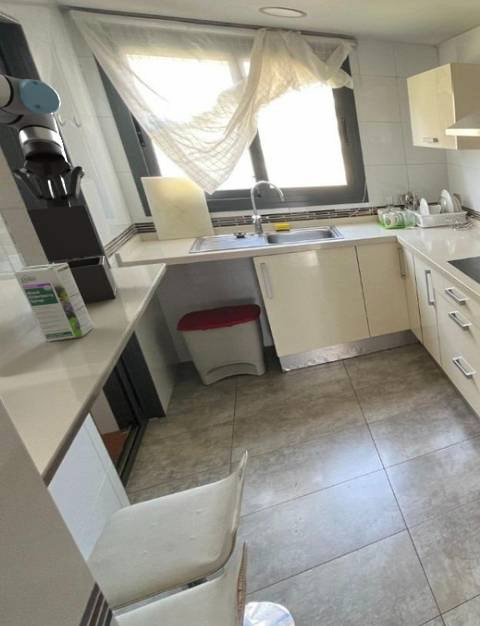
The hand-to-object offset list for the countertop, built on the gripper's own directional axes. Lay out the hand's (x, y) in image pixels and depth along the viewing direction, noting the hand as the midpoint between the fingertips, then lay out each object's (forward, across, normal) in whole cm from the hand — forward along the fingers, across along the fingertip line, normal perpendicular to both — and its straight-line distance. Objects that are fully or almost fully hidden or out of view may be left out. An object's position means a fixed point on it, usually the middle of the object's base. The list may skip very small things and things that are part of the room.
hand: (63, 221), depth 115 cm
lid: (+3, 0, 0) cm, 3 cm away
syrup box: (+40, +2, +14) cm, 42 cm away
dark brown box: (+19, 0, -7) cm, 20 cm away
